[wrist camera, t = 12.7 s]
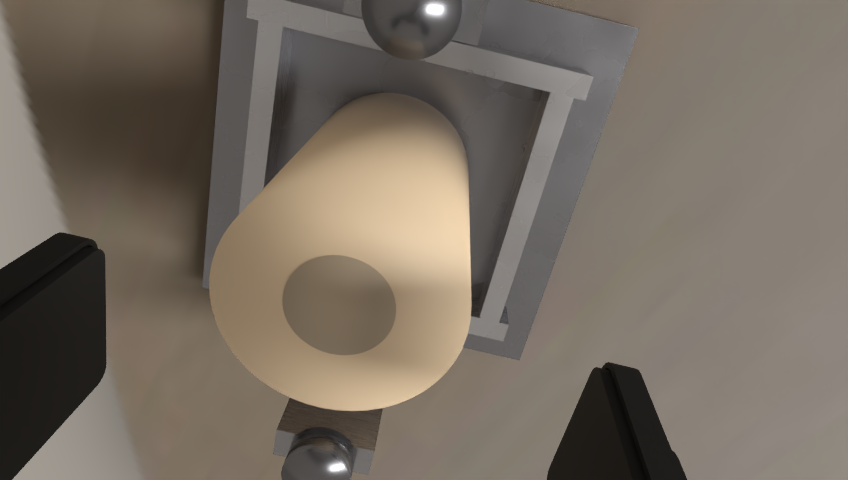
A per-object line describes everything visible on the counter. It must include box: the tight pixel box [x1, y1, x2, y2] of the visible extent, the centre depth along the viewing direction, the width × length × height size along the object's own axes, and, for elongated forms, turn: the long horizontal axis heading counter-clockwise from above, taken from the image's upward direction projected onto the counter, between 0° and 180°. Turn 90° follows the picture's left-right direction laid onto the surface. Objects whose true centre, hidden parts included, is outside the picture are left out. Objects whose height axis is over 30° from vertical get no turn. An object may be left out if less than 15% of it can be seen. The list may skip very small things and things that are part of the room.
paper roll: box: [209, 93, 472, 411], centre depth 18 cm, size 6×6×10 cm
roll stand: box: [202, 0, 639, 480], centre depth 19 cm, size 14×15×10 cm
